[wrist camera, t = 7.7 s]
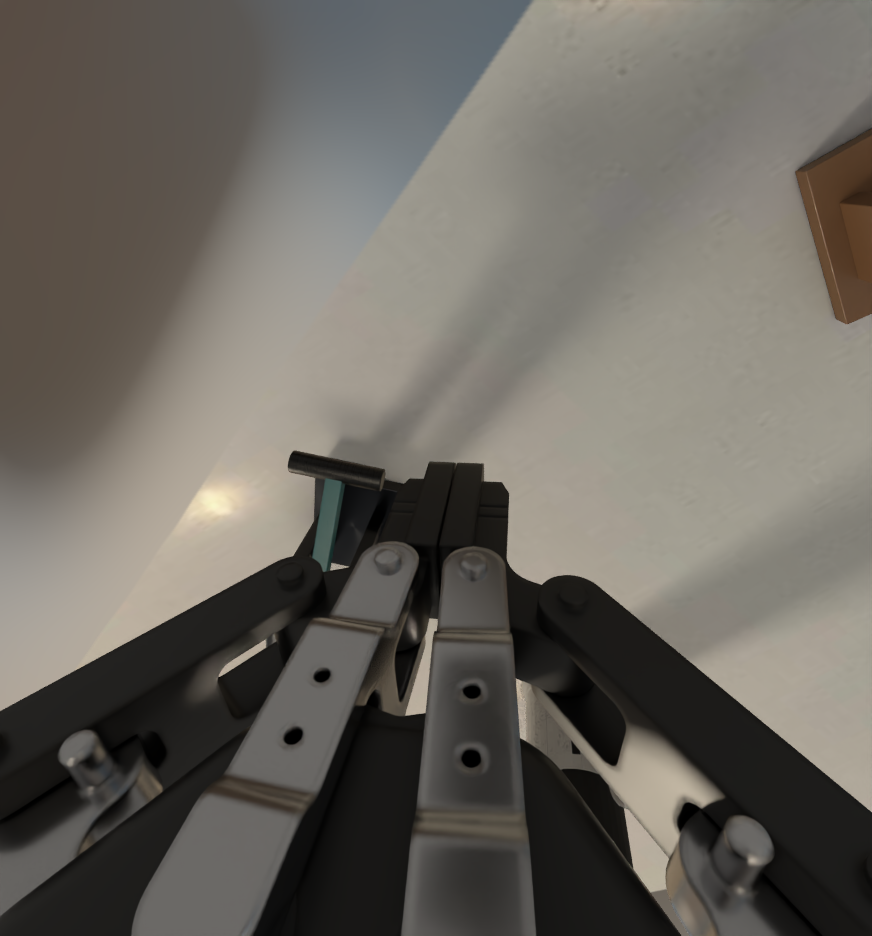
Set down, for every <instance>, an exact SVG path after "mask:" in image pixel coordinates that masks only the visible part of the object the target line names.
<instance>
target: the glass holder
mask: <svg viewBox="0 0 872 936" xmlns="http://www.w3.org/2000/svg"><path fill="white" fill-rule="evenodd" d="M522 694H523V697H524V699H525V701H526V742H528V743H530V744H531V745H533V746H534V747H536V748H537V749H539V750H540V751H542V752H543V753H544V754H545V755H546V756H547V757H549V758H550V759H551V760H552V761H553V762H554V763H555V764H556V765H557V766H558V767H559V768H560V770H561V771H562V772H563V773H564V774H565V775H566V777H567V778H568V779H569V781H570V782H571V783H572V785H573V786H574V788H575V789H576V790H577V792H578V793H579V795H580V796H581V797H582V799H583V800H584V801H585V803H586V804H587V806H588V807H589V808H590V810H591V811H592V813H593V814H594V815H595V817H596V818H597V820H598V821H599V822H600V824H601V825H602V826H603V828H604V829H605V831H606V832H607V833H608V835H609V836H610V838H611V839H612V840H613V842H614V843H615V844H616V846H617V847H618V849H619V850H620V851H621V853H622V854H623V856H624V857H625V858H626V860H627V861H628V863H629V864H630V865H631V867H632V868H633V864H632V857H631V851H630V845H629V838H628V832H627V826H626V819H625V813H624V808H626V809H628V808H627V807H626V806H625V805H624V803H623V802H622V801H621V800H620V798H619V797H618V796H617V795H616V794H615V792H614V791H613V790H612V789H611V788H610V786H609V785H608V784H607V783H606V782H605V780H604V779H603V778H602V777H601V776H600V774H599V773H598V772H597V771H596V770H595V768H594V767H593V766H592V765H591V763H590V762H589V761H588V760H587V759H586V757H585V756H584V755H583V754H582V753H581V751H580V750H579V749H578V748H577V747H576V745H575V744H574V743H573V742H572V741H571V739H570V738H569V737H568V736H567V735H566V733H565V732H564V731H563V730H562V728H561V727H560V726H559V725H558V724H557V722H556V721H555V720H554V719H553V718H552V716H551V715H550V714H549V713H548V712H547V710H546V709H545V708H544V707H543V706H542V704H541V703H540V702H539V701H538V700H537V698H536V697H535V695H534V693H533V691H532V688H531V684H529V683H526V682H524V681H523V682H522ZM628 810H629V809H628Z"/></svg>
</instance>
